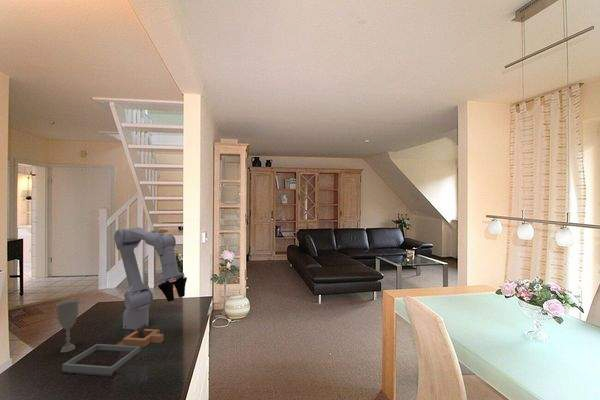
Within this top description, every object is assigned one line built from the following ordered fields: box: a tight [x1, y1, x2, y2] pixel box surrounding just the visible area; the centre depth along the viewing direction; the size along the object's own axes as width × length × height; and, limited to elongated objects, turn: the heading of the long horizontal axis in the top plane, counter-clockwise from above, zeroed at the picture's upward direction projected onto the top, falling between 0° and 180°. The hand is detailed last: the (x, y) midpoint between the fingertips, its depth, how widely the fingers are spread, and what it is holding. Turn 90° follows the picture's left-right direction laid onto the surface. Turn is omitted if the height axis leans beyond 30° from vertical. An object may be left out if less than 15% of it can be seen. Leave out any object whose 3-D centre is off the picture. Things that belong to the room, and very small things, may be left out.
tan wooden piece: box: [115, 324, 148, 349], centre depth 112 cm, size 12×10×6 cm
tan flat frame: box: [122, 328, 165, 348], centre depth 112 cm, size 13×9×2 cm
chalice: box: [55, 299, 80, 353], centre depth 106 cm, size 7×7×18 cm
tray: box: [61, 343, 142, 378], centre depth 99 cm, size 18×14×3 cm
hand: (176, 298), depth 113 cm, fingers open, 7 cm apart
